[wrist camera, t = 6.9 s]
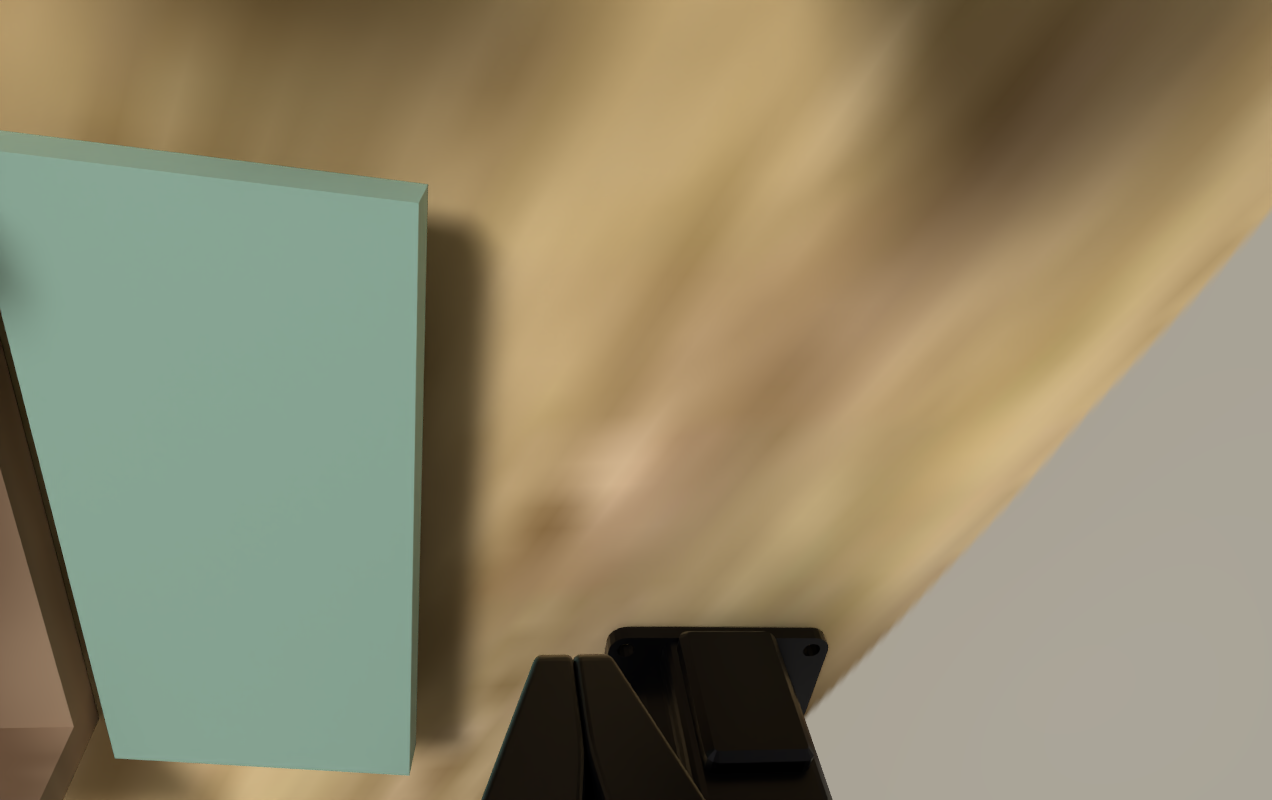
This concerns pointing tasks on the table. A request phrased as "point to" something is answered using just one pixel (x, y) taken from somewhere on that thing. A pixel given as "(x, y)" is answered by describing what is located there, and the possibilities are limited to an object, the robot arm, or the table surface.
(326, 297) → the tailgate
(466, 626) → the table surface
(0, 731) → the truck bed
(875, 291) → the table surface
